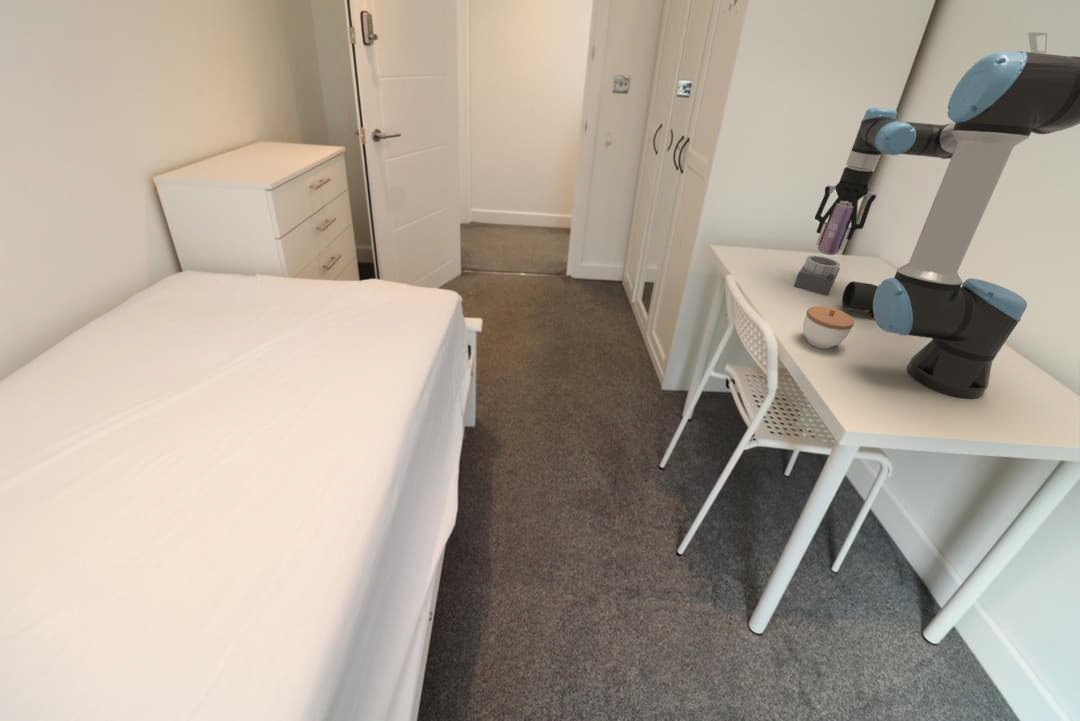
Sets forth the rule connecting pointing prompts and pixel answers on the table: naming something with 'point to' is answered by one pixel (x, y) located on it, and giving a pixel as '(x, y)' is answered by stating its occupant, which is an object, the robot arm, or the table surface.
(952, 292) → the robot arm
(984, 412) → the table surface
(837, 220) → the beverage can
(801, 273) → the grey socket block
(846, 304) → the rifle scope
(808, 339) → the lidded jar
